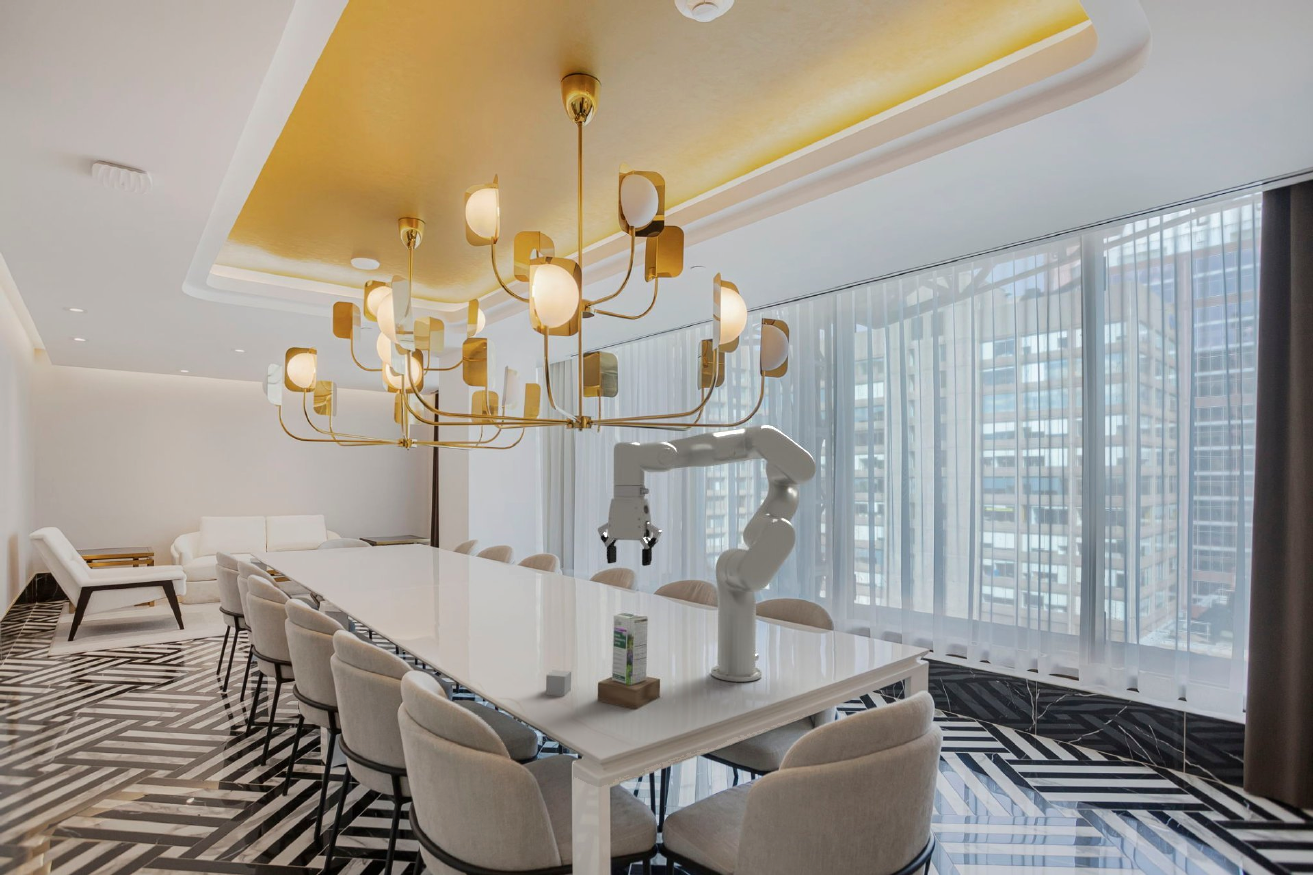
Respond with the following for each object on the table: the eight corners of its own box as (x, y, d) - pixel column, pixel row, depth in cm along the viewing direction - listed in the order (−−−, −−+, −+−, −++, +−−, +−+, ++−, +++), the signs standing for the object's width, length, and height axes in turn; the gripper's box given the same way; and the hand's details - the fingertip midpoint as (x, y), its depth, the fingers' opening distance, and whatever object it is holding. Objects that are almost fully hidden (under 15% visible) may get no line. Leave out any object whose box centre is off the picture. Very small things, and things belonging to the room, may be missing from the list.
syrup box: (610, 680, 154) (612, 614, 155) (629, 675, 159) (630, 611, 159) (629, 686, 150) (630, 618, 151) (647, 680, 155) (648, 614, 156)
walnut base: (622, 689, 161) (623, 672, 161) (659, 697, 156) (659, 679, 156) (597, 701, 152) (597, 682, 153) (635, 709, 147) (636, 690, 147)
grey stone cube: (552, 689, 161) (553, 670, 161) (570, 690, 160) (571, 671, 160) (545, 695, 156) (546, 675, 157) (564, 696, 155) (564, 676, 156)
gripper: (667, 493, 167) (667, 564, 166) (607, 492, 175) (606, 560, 174) (652, 493, 161) (653, 568, 160) (590, 493, 169) (590, 563, 168)
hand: (628, 564), depth 167 cm, fingers open, 9 cm apart
